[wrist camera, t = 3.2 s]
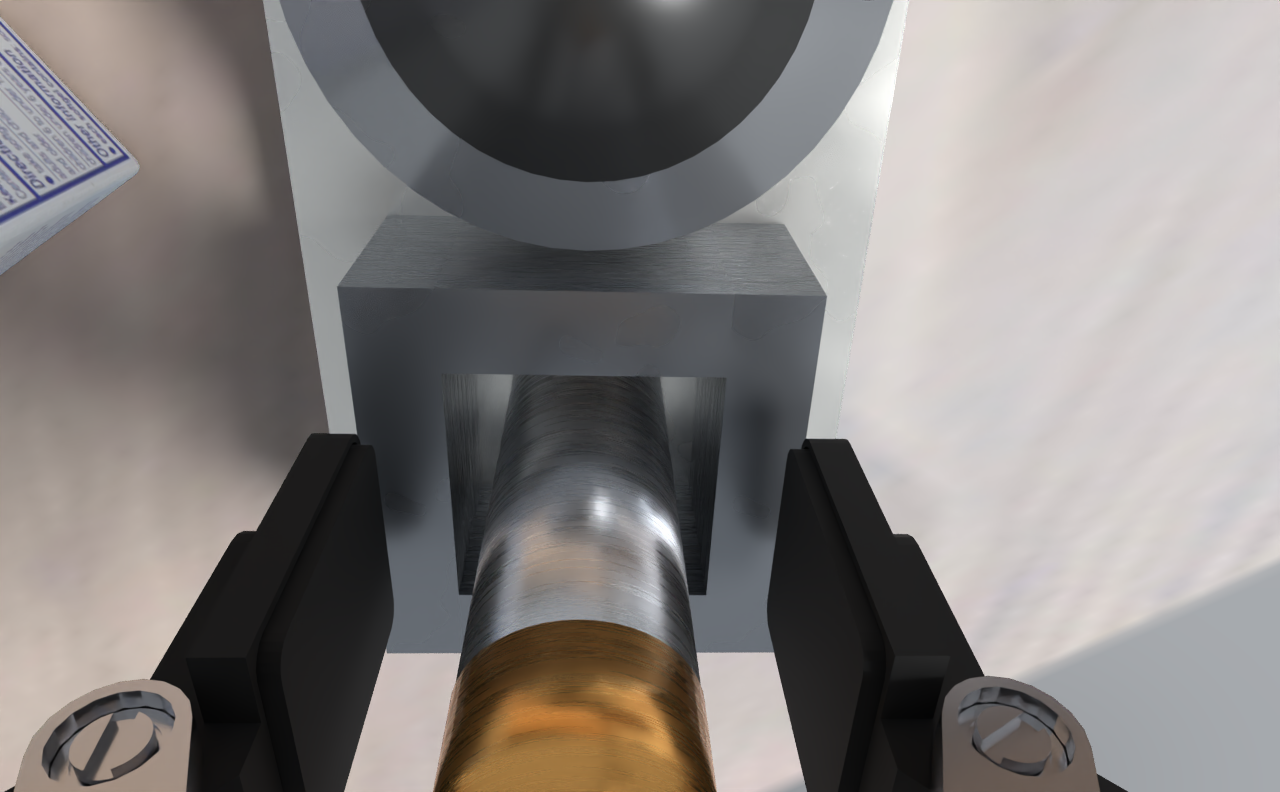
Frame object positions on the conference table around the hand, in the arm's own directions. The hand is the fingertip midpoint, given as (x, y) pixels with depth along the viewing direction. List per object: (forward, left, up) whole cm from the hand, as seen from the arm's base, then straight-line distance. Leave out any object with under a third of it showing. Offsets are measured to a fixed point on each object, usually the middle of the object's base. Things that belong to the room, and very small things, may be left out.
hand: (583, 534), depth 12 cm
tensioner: (-3, 0, -5) cm, 6 cm away
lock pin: (0, 0, -4) cm, 4 cm away
